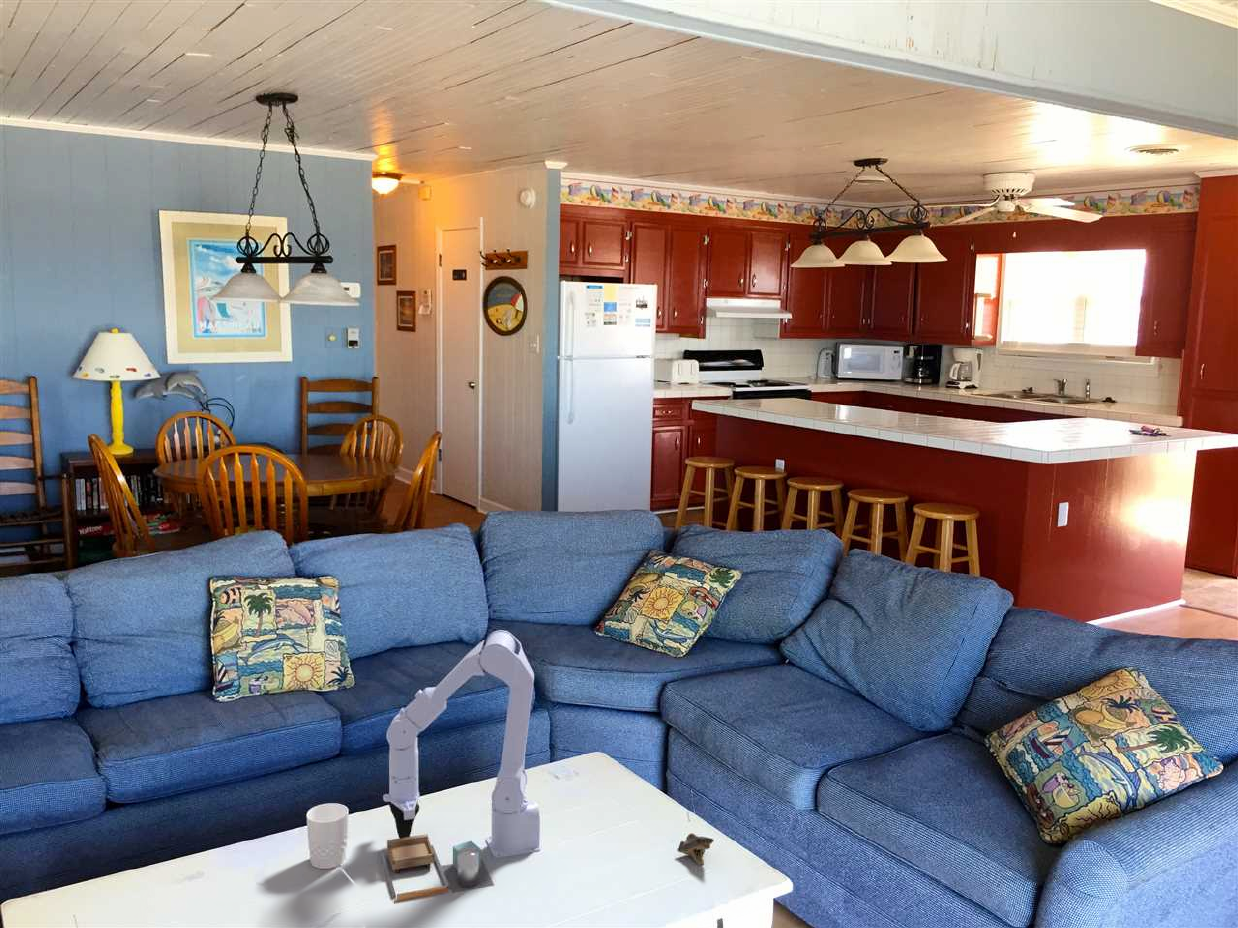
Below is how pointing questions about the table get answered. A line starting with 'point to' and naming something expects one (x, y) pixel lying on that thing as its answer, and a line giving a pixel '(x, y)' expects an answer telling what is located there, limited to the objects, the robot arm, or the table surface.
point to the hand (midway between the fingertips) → (404, 836)
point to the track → (420, 892)
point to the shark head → (695, 847)
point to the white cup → (327, 835)
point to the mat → (452, 880)
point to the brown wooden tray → (410, 852)
